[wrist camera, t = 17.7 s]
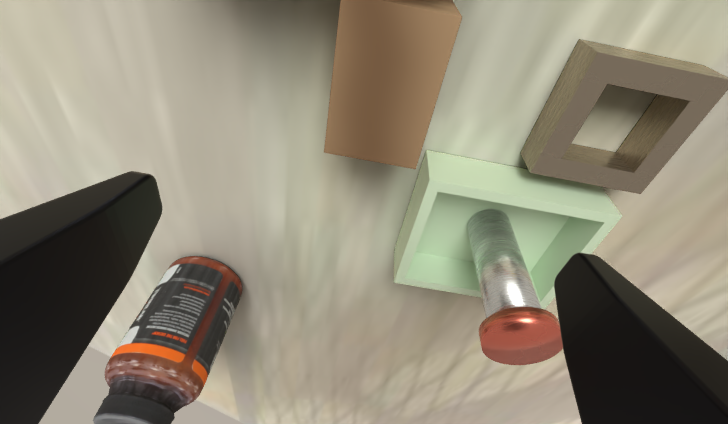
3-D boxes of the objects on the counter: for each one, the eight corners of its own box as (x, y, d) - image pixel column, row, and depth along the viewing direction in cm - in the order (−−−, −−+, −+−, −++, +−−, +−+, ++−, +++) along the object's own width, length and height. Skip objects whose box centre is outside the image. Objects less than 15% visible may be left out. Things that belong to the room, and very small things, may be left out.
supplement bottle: (157, 253, 28) (47, 406, 19) (228, 250, 27) (147, 409, 18) (190, 301, 32) (111, 447, 23) (254, 299, 31) (197, 451, 22)
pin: (528, 208, 22) (581, 330, 16) (503, 249, 24) (540, 369, 18) (471, 197, 22) (501, 316, 15) (450, 239, 24) (470, 357, 18)
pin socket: (704, 65, 17) (734, 81, 15) (622, 172, 20) (640, 193, 19) (579, 39, 16) (597, 52, 15) (520, 153, 20) (530, 173, 19)
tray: (598, 182, 21) (622, 216, 19) (532, 273, 26) (545, 308, 24) (426, 149, 20) (429, 179, 18) (394, 249, 26) (393, 282, 23)
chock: (446, -9, 16) (462, 16, 12) (412, 118, 19) (415, 168, 16) (355, -28, 15) (341, -8, 12) (338, 104, 19) (323, 152, 15)
